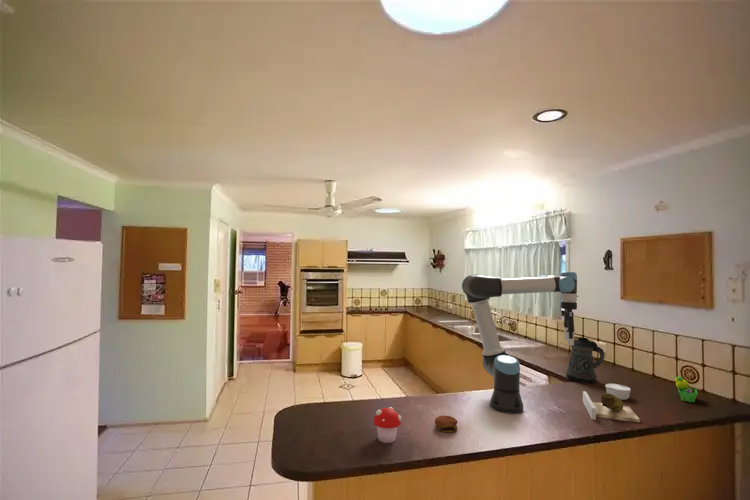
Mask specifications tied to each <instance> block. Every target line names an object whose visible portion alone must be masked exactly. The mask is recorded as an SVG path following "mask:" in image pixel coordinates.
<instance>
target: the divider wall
mask: <svg viewBox="0 0 750 500" xmlns="http://www.w3.org/2000/svg"><path fill="white" fill-rule="evenodd" d="M592 402H593V401H592V399H591V398H590V396H589V394H588V393H587V391H582V403H583V405H584V406H585V408H586V410H587V412H588V414H589V416H590V418H591V420H593V421H594V420H595V421H596V419H597V417H596V408H595V406H594V405H593V403H592Z"/></svg>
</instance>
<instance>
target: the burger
mask: <svg viewBox="0 0 750 500" xmlns="http://www.w3.org/2000/svg"><path fill="white" fill-rule="evenodd" d="M458 422H459V421H458V419H456V418H455V417H453V416H451V415H438V416H436V417H435V420H434V424H435V427H434V428H435V429H436V430H438V431H440V432H443V433H454V432H457V431H458V425H457V424H458Z"/></svg>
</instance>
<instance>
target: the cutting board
mask: <svg viewBox="0 0 750 500" xmlns="http://www.w3.org/2000/svg"><path fill="white" fill-rule="evenodd" d="M592 403H593V405H594V406H595V408H596V418H603V419H609V420H617V421H624V422H633V423H640V421H641V420H640V417H639V416H638V415H637V413H635V412H634V411H633V409H632V408H631V407H630V406H628V405H623V409H622V410H620V411H614V410H611V409H608V408H607V407H605V406H603V405H602V402H596V401H592Z"/></svg>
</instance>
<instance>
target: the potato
mask: <svg viewBox="0 0 750 500" xmlns="http://www.w3.org/2000/svg"><path fill="white" fill-rule="evenodd" d="M600 403H602V405H603V406H605V407H607V408H608V409H611V410H614V411H620V410H622V409H623V406H624V403H623V401H622V400H620V399H619V398H617V397H615V396H614V395H612V394H610V393H607V392H605V393H603V394H601V395H600Z"/></svg>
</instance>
